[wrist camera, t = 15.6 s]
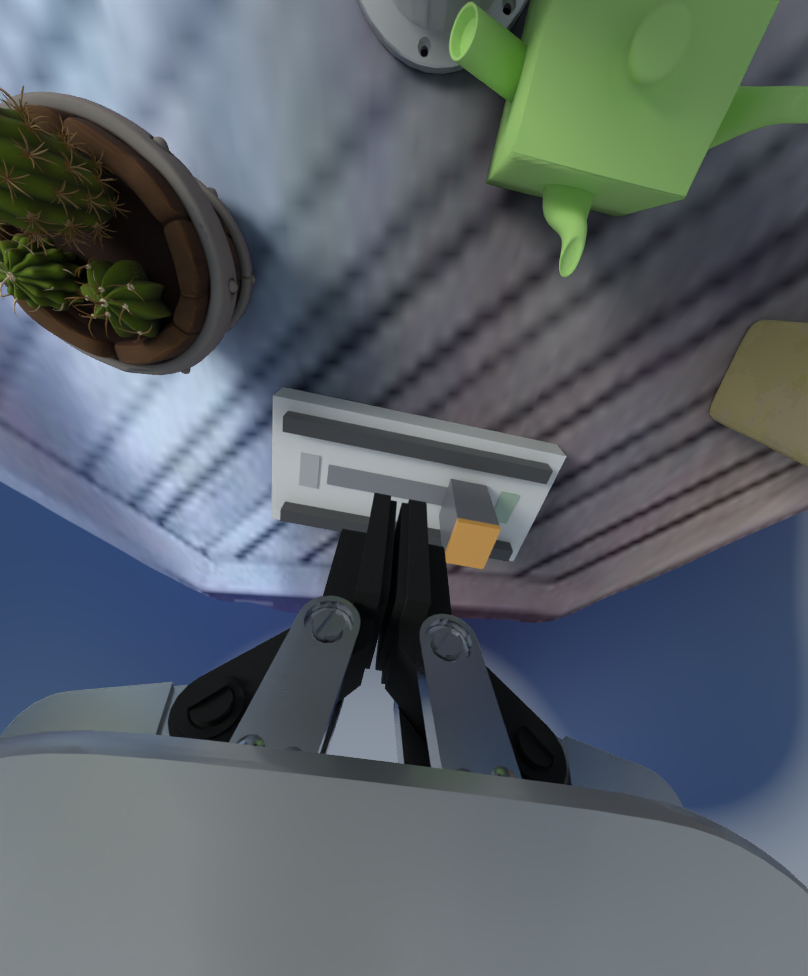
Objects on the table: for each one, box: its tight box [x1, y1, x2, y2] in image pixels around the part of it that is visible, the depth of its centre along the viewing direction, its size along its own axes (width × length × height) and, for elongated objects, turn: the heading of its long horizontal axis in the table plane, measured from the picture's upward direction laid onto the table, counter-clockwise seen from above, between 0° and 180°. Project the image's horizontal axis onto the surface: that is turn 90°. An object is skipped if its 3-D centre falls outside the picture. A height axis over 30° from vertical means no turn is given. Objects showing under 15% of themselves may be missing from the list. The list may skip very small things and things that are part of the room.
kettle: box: [449, 0, 808, 277], centre depth 21 cm, size 15×14×11 cm
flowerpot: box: [0, 86, 255, 375], centre depth 22 cm, size 14×15×20 cm
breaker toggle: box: [439, 479, 501, 569], centre depth 36 cm, size 5×4×8 cm
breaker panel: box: [272, 387, 567, 561], centre depth 39 cm, size 15×30×5 cm, turn 78°
